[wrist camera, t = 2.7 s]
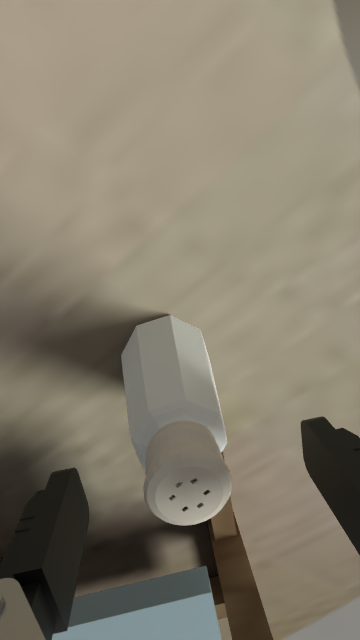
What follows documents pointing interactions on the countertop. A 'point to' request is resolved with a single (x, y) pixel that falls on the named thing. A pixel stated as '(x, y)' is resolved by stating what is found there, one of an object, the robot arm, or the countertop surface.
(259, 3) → the countertop surface
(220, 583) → the wooden frame stand
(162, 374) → the pepper shaker
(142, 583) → the trapdoor
